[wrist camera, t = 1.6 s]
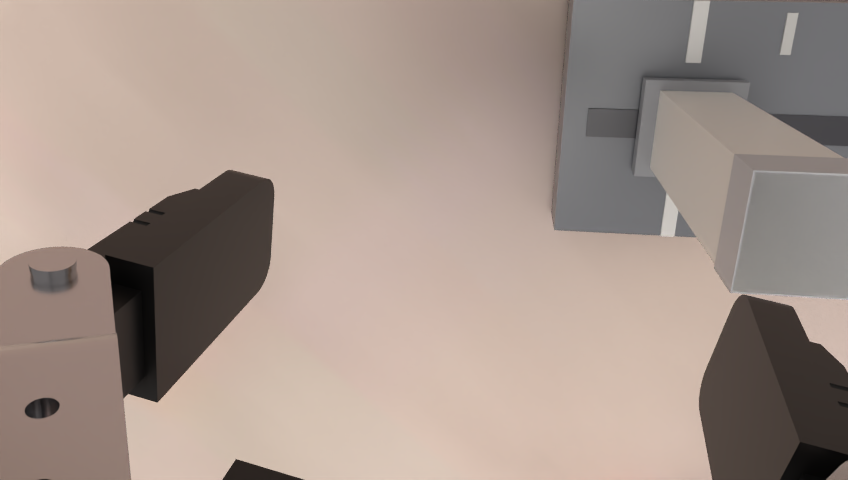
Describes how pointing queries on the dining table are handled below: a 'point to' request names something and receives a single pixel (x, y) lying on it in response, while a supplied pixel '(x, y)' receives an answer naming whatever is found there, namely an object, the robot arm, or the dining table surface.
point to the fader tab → (747, 187)
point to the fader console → (691, 59)
